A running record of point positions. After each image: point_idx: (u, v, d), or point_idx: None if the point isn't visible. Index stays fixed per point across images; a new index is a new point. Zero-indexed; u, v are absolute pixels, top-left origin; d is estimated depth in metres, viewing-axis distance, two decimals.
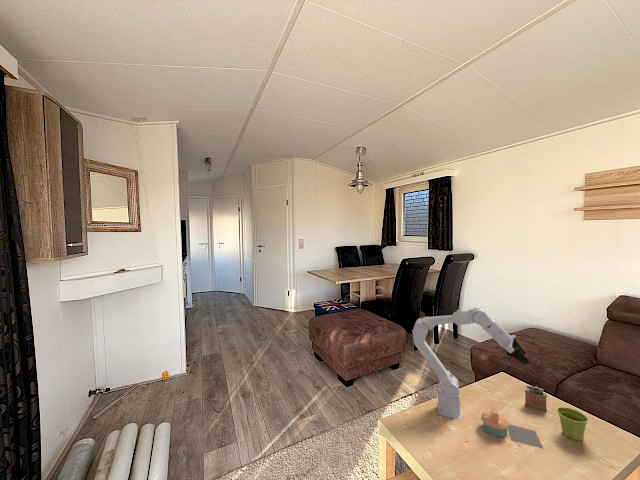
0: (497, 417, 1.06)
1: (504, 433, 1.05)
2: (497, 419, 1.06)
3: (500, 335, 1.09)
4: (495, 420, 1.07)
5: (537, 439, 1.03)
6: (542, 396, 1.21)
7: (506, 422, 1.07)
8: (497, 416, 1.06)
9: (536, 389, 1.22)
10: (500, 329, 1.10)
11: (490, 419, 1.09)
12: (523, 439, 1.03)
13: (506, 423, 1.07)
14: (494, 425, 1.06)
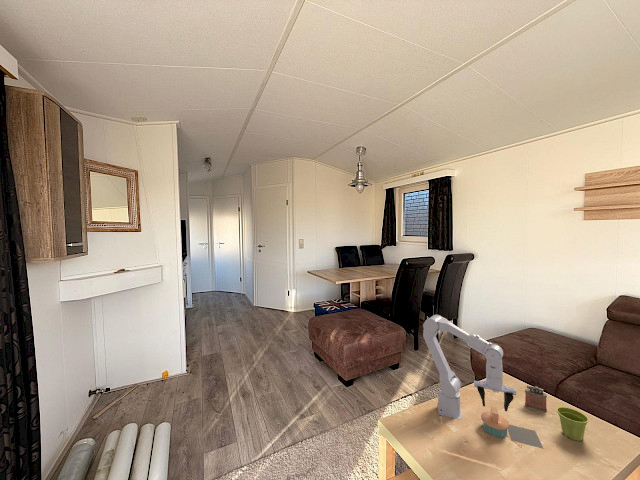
0: (497, 417, 1.06)
1: (504, 433, 1.05)
2: (497, 419, 1.06)
3: (486, 376, 1.09)
4: (495, 420, 1.07)
5: (537, 439, 1.03)
6: (542, 396, 1.21)
7: (506, 422, 1.07)
8: (497, 416, 1.06)
9: (536, 389, 1.22)
10: (499, 377, 1.06)
11: (490, 419, 1.09)
12: (523, 439, 1.03)
13: (506, 423, 1.07)
14: (494, 425, 1.06)
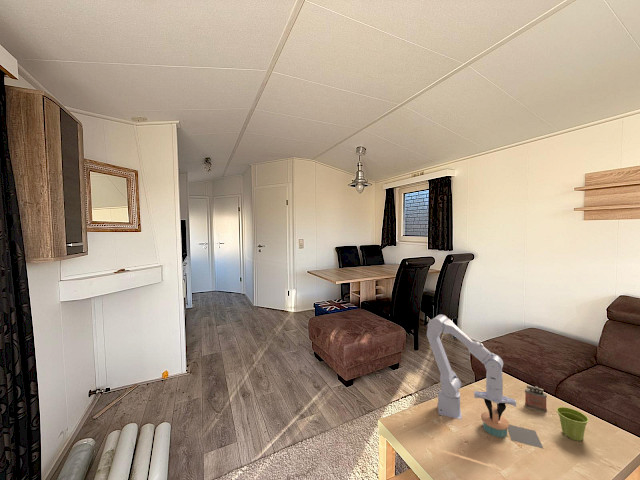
0: (497, 417, 1.06)
1: (504, 433, 1.05)
2: (497, 419, 1.06)
3: (486, 386, 1.09)
4: (495, 420, 1.07)
5: (537, 439, 1.03)
6: (542, 396, 1.21)
7: (506, 422, 1.07)
8: (497, 416, 1.06)
9: (536, 389, 1.22)
10: (499, 388, 1.06)
11: (490, 419, 1.09)
12: (523, 439, 1.03)
13: (506, 423, 1.07)
14: (494, 425, 1.06)
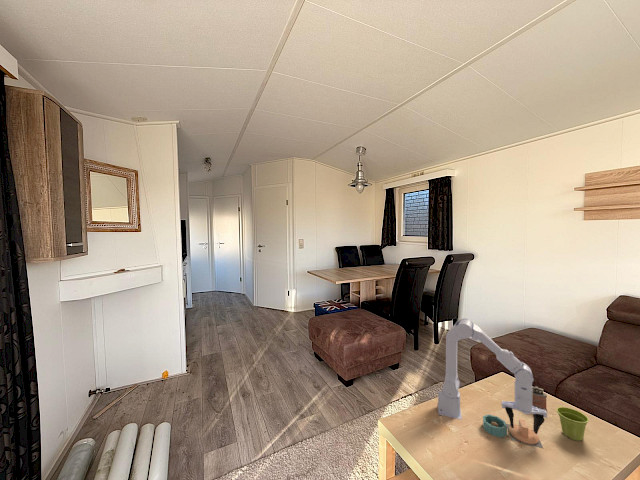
0: (527, 431, 1.03)
1: (504, 433, 1.05)
2: (527, 433, 1.03)
3: (515, 396, 1.06)
4: (525, 434, 1.04)
5: None
6: (542, 396, 1.21)
7: (536, 436, 1.04)
8: (527, 430, 1.03)
9: (536, 389, 1.22)
10: (530, 398, 1.03)
11: (519, 433, 1.06)
12: None
13: (536, 437, 1.04)
14: (524, 439, 1.02)
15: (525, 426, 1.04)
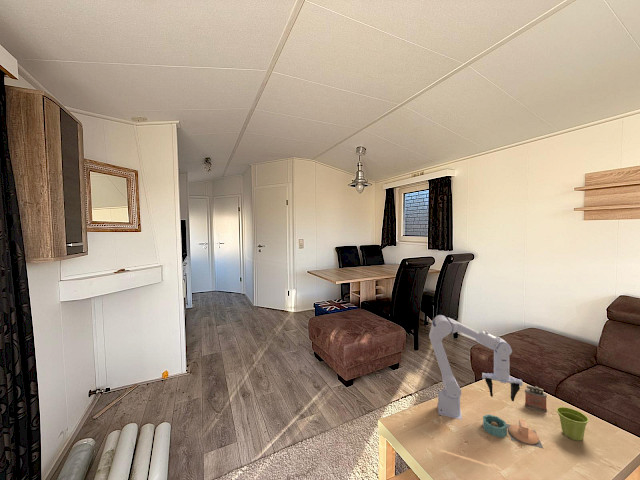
0: (527, 431, 1.03)
1: (504, 433, 1.05)
2: (527, 433, 1.03)
3: (494, 368, 1.16)
4: (525, 434, 1.04)
5: None
6: (542, 396, 1.21)
7: (536, 436, 1.04)
8: (527, 430, 1.03)
9: (536, 389, 1.22)
10: (508, 368, 1.13)
11: (519, 433, 1.06)
12: None
13: (536, 437, 1.04)
14: (524, 439, 1.02)
15: (525, 426, 1.04)
